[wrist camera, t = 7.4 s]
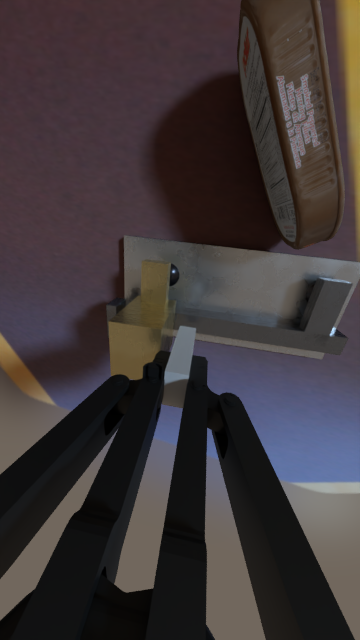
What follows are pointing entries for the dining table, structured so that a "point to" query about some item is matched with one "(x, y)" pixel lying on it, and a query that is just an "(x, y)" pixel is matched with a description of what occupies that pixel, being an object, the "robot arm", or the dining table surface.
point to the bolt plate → (237, 282)
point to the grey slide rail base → (271, 321)
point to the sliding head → (143, 323)
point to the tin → (292, 116)
